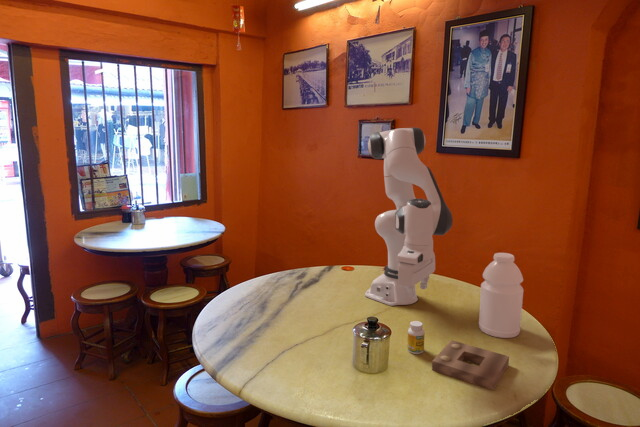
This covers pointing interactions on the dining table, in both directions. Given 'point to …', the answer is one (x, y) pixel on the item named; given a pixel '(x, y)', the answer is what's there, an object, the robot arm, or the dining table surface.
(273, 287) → the dining table surface
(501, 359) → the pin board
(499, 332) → the bottle
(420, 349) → the supplement bottle
